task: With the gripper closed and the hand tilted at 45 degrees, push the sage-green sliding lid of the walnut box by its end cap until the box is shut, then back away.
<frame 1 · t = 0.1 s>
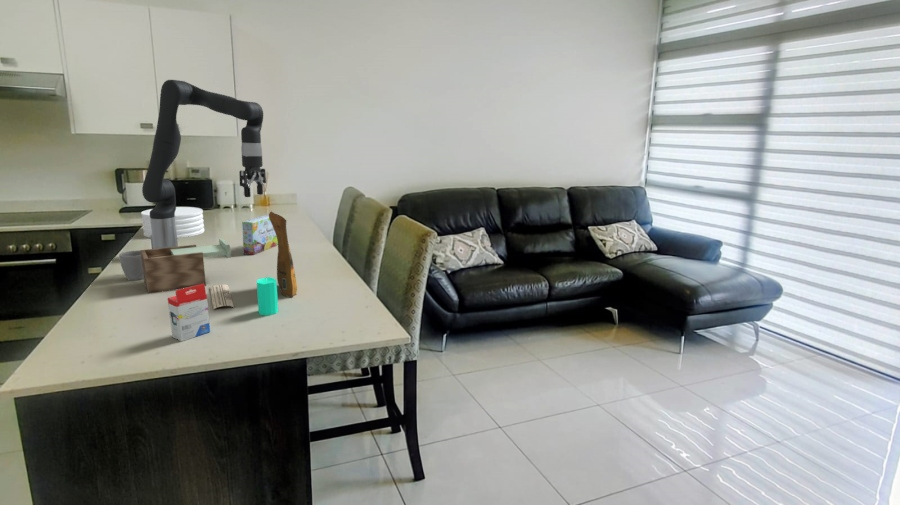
hand: (253, 195, 200), 29 cm above the counter, tool pointing down, fingers open, 8 cm apart
candle: (268, 312, 158), on the counter
newspaper: (223, 299, 170), on the counter
ink box: (191, 335, 140), on the counter
plate stack: (174, 233, 262), on the counter
snack box: (262, 249, 234), on the counter
lid: (200, 250, 184), point 12 cm above the counter, slide at 8.0 cm
mug: (136, 277, 188), on the counter
box: (175, 283, 181), on the counter
pancake mix bag: (285, 291, 179), on the counter
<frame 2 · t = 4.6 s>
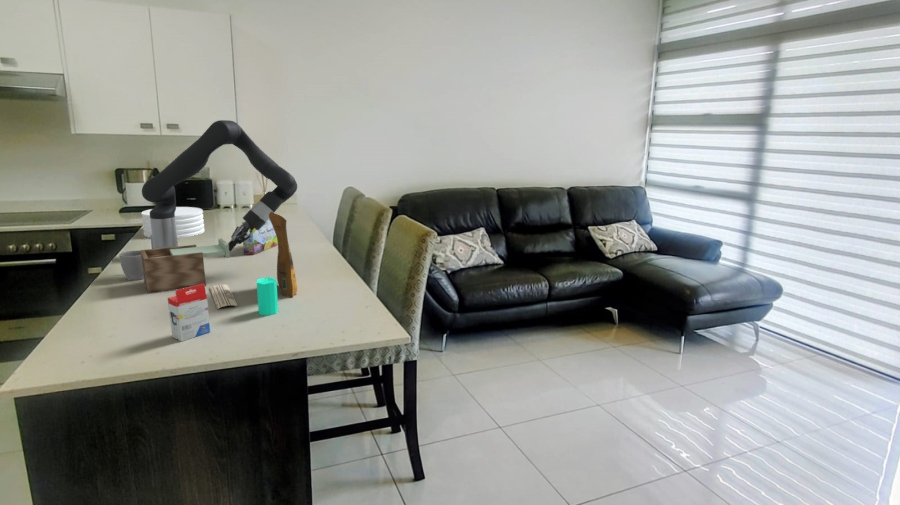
hand: (227, 249, 190), 11 cm above the counter, tool tilted 45°, fingers closed
lid: (199, 250, 184), point 12 cm above the counter, slide at 7.7 cm, touching gripper
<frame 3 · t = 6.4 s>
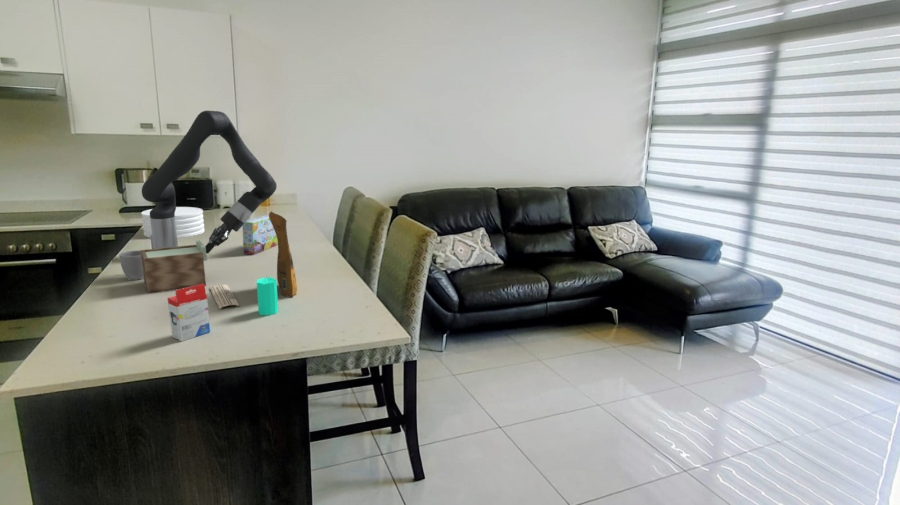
hand: (204, 251, 185), 11 cm above the counter, tool tilted 45°, fingers closed
lid: (175, 253, 179), point 12 cm above the counter, slide at -0.1 cm, touching gripper
everything else where it was.
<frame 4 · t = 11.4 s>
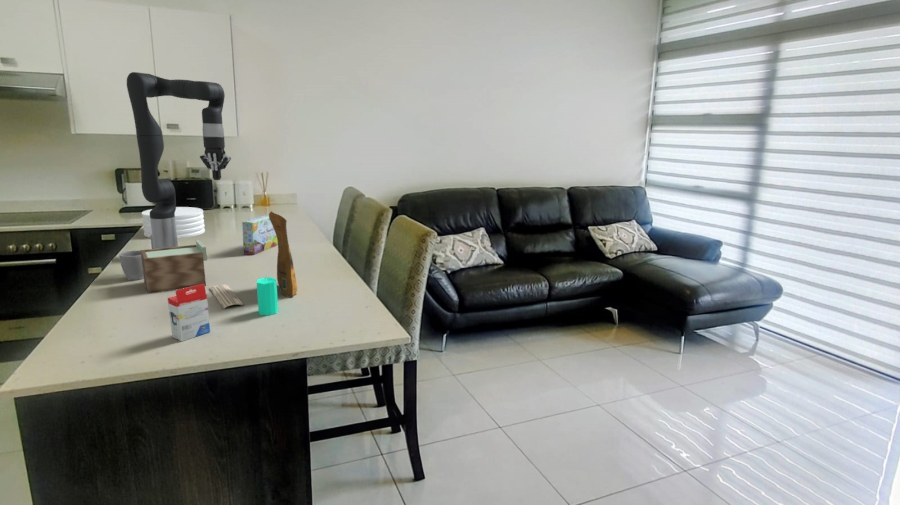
hand: (217, 179, 200), 35 cm above the counter, tool pointing down, fingers closed
lid: (175, 253, 179), point 11 cm above the counter, slide at 0.0 cm
at the end: lid slide at 0.0 cm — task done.
